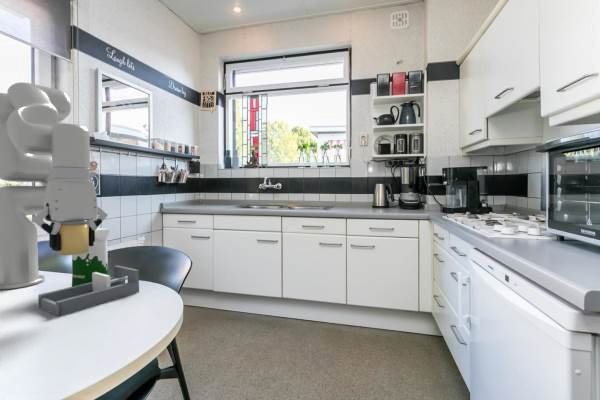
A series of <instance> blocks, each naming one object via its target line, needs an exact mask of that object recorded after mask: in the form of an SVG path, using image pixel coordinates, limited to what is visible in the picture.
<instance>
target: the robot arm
mask: <svg viewBox="0 0 600 400" xmlns="http://www.w3.org/2000/svg"><path fill="white" fill-rule="evenodd" d="M71 111H72V102H71V99H70V97H69V96H68V95H67V94H66V93H65V91H63V90H59V89H57V88H52V87H48V86H44V85H38V84H35V83H30V82H15V83H13V84H11V85H10V86H9V88H8V89H7V93H4V92H0V180H2V181H4V182H5V181H6V182H11V183H12V182H13V183H14V182H16V183H17V182H18V183H40V184H41V185H6V186H1V187H0V290H13V289H17V288H18V289H19V288H24V287H30V286H33V285H37V284H39V283H42V282H44V281H45V279H46V278H45V277H46V276H45V275H41V274H39V247H38V244H39V243H38V229H37V226H38V227H39V228H40V229H42V230H43V231H44V232H46V233H47V234H48V236H49V237H48V238H49V239H48V240H49V244H48V245H49V247H50V248H51V250H52V251H55V252H57V251H60V250H61V235H60V234H58V231H59V229H60V227H61V222H67V221H80V220H89V246H93V245H94V242H95V230H96V229H97V228H98V227H99V226H100V225H101V224H102V223H103V221H104V220H105V219H106V218H107V217H108V213H107V212H105V211H104V210H103V209H102V208H100V207H99V206H98V197H97V192H96V187H95V183H94V181H91V180H92V178H95V177H97V173H96V172H95V171H92V168H91V149H90V148H91V146H90V145H91V141H90V139H91V138H90V137H91V136H90V130H89V128H87V127H86V126H84V125H81V124H76V123H75V124H74V123H64V122H63V123H62V121H64V120H65V119H67V118H68V116H69V115H70V113H71ZM32 215H34V216H32ZM27 216H32V218H31V220H30V218H28V217H27ZM44 220H45V221H47V222H49V223H50V224H48V223H47V222H45V221H44Z"/></svg>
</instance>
